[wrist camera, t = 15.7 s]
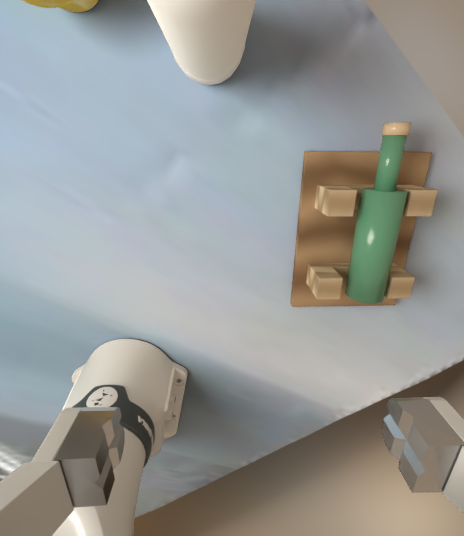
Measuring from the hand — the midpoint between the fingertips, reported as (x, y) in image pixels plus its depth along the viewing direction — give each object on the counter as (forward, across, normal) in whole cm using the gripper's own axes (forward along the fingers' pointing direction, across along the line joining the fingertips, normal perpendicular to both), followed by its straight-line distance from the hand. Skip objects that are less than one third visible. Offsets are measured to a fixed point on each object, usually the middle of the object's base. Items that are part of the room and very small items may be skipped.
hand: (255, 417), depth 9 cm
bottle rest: (+34, +18, -4) cm, 39 cm away
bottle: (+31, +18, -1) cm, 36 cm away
